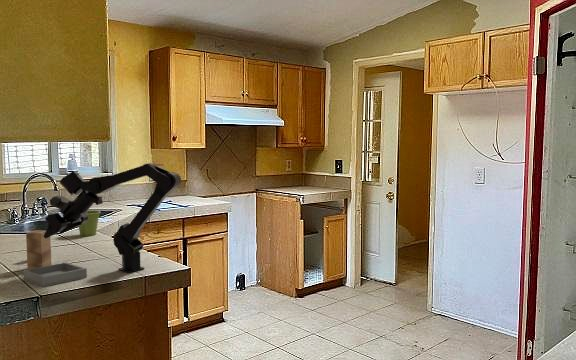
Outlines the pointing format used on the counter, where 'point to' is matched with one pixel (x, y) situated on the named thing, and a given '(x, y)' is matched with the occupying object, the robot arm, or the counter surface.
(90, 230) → the plant pot
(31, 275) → the box
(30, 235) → the walnut block
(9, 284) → the counter surface
